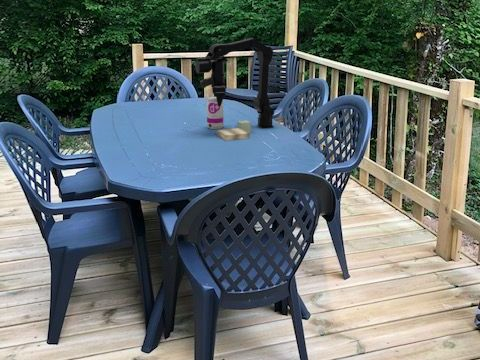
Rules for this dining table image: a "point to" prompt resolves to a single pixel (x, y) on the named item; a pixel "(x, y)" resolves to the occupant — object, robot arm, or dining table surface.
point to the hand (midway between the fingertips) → (219, 104)
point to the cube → (245, 125)
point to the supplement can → (214, 114)
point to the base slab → (233, 134)
